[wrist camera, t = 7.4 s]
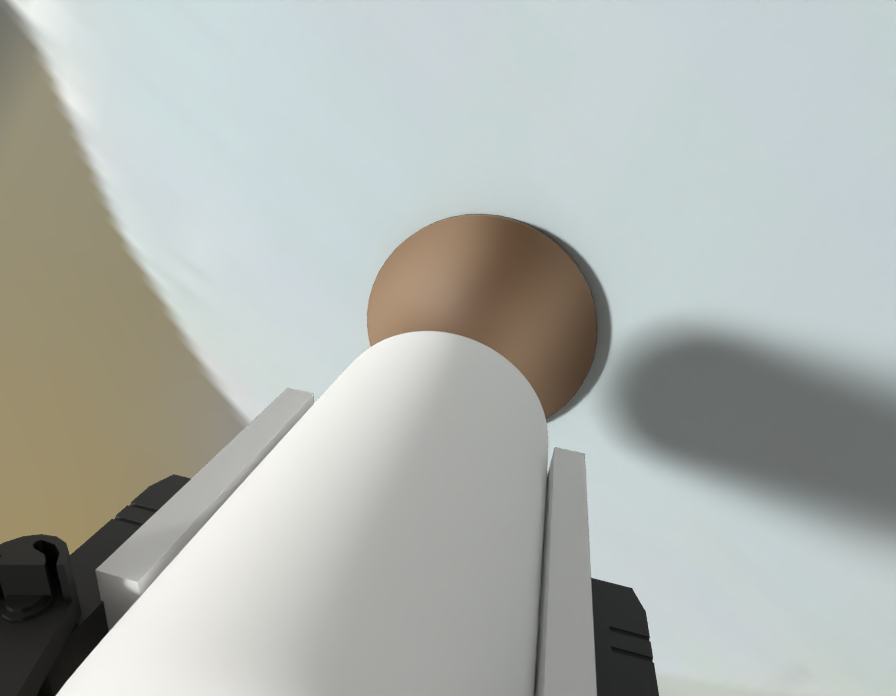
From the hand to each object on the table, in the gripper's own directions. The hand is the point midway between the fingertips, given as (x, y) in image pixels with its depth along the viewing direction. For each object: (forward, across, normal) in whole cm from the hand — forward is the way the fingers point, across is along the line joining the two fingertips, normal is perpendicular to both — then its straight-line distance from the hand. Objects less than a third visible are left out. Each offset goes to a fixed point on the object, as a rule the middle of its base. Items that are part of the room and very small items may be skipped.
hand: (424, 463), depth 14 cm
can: (+2, 0, 0) cm, 2 cm away
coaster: (+10, 0, 0) cm, 10 cm away
